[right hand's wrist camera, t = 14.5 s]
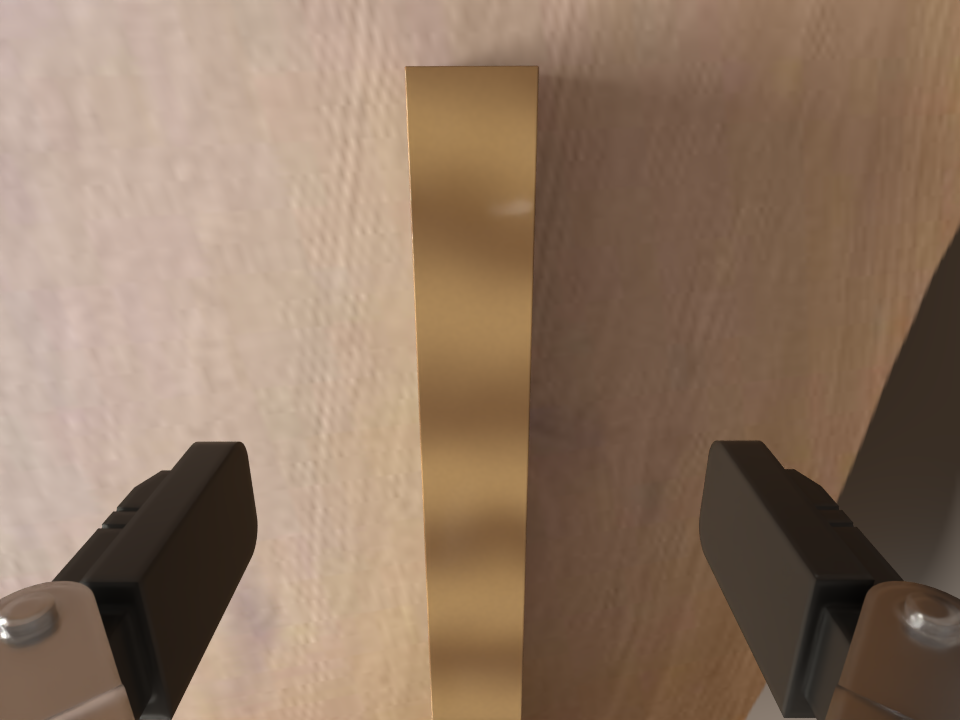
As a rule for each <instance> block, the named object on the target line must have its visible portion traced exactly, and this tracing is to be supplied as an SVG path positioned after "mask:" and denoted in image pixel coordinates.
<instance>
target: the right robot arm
mask: <svg viewBox="0 0 960 720" xmlns="http://www.w3.org/2000/svg"><path fill="white" fill-rule="evenodd" d="M257 526H258V525H257V514H256V507H255V501H254V494H253V487H252V481H251V474H250V467H249V460H248V454H247V450H246V448H245V446H244V444H243V443H242V442H195V443H194V444H193V445H191V447H190V448H189V449H188V450H187V452H186V453H185V454H184V455H183V456H182V458H181V459H180V460H179V461H178V462H177V464H176V465H175V466H174V467H173V469H172V470H171V471H160V472H159V473H157V474H155V475H154V476H152V477H151V478H149V479H147V480H146V481H144V482H143V483H141V484H139V485H138V486H136V487H135V488H134V489H133V490H132V491H131V492H130V493H129V494H128V495H127V497H126V498H125V499H124V500H123V501H122V502H121V503H120V505H119V506H118V507H117V511H116V512H113V513H112V514H111V515H110V516H109V517H108V518H107V519H106V520H105V522H104V523H103V524H102V529H98V530H97V531H96V532H95V533H94V534H93V535H92V536H91V537H90V539H89V540H88V541H87V542H86V543H85V544H84V545H83V547H82V548H81V549H80V550H79V551H78V552H77V553H76V555H75V556H74V557H73V558H72V559H71V560H70V561H69V562H68V564H67V565H66V566H65V567H64V568H63V569H62V570H61V572H60V573H59V574H58V575H57V576H56V577H55V578H54V580H53V581H52V582H46V583H42V584H37V585H34V586H30V587H27V588H24V589H22V590H19V591H17V592H14V593H12V594H10V595H8V596H6V597H4V598H2V599H0V720H171V719H172V717H173V715H174V713H175V711H176V709H177V707H178V705H179V703H180V701H181V699H182V697H183V695H184V693H185V691H186V689H187V687H188V685H189V683H190V681H191V679H192V677H193V675H194V673H195V671H196V669H197V667H198V665H199V663H200V661H201V659H202V657H203V655H204V653H205V651H206V649H207V647H208V645H209V643H210V641H211V638H212V636H213V634H214V632H215V630H216V628H217V626H218V624H219V622H220V620H221V618H222V616H223V614H224V612H225V610H226V608H227V606H228V604H229V602H230V600H231V598H232V596H233V594H234V592H235V590H236V588H237V586H238V584H239V582H240V580H241V578H242V576H243V574H244V572H245V570H246V568H247V566H248V564H249V562H250V560H251V557H252V555H253V552H254V549H255V545H256V540H257ZM699 532H700V540H701V545H702V549H703V552H704V555H705V557H706V559H707V561H708V563H709V565H710V567H711V569H712V571H713V573H714V576H715V578H716V580H717V582H718V584H719V586H720V588H721V590H722V592H723V594H724V596H725V598H726V600H727V602H728V604H729V606H730V608H731V610H732V612H733V614H734V616H735V619H736V621H737V623H738V625H739V627H740V629H741V631H742V633H743V635H744V637H745V639H746V641H747V643H748V645H749V647H750V649H751V651H752V653H753V655H754V657H755V660H756V662H757V664H758V666H759V668H760V670H761V672H762V674H763V676H764V678H765V680H766V682H767V684H768V686H769V688H770V690H771V692H772V694H773V696H774V698H775V700H776V703H777V705H778V707H779V709H780V711H781V713H782V715H783V717H784V718H816V719H817V720H960V599H958V598H956V597H954V596H952V595H950V594H948V593H946V592H943V591H941V590H938V589H936V588H933V587H930V586H926V585H922V584H918V583H913V582H906V581H904V580H903V579H902V578H901V577H900V576H899V575H898V574H897V572H896V571H895V570H894V569H893V568H892V567H891V566H890V564H889V563H888V562H887V561H886V560H885V559H884V558H883V556H882V555H881V554H880V553H879V552H878V551H877V550H876V548H875V547H874V546H873V545H872V544H871V543H870V542H869V540H868V539H867V538H866V537H865V536H864V535H863V534H862V532H861V531H860V530H859V529H858V528H857V527H853V522H852V521H851V520H850V519H849V517H848V516H847V515H846V514H845V513H844V512H843V511H842V510H839V506H838V505H837V504H836V503H835V501H834V500H833V499H832V498H831V497H830V496H829V495H828V493H827V492H826V491H825V490H824V489H823V488H822V486H820V485H818V484H817V483H815V482H814V481H812V480H810V479H809V478H807V477H806V476H804V475H802V474H801V473H799V472H798V471H796V470H794V469H784V468H783V466H782V465H781V464H780V463H779V461H778V460H777V459H776V458H775V457H774V455H773V454H772V453H771V452H770V450H769V449H768V448H767V447H766V445H765V444H764V443H763V442H761V441H715V442H713V444H712V445H711V448H710V451H709V456H708V463H707V470H706V477H705V483H704V490H703V497H702V504H701V511H700V518H699Z"/></svg>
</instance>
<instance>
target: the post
mask: <svg viewBox="0 0 960 720" xmlns="http://www.w3.org/2000/svg"><path fill="white" fill-rule="evenodd" d="M538 80H539V67H538V66H406V67H405V86H406V110H407V134H408V158H409V182H410V205H411V229H412V253H413V277H414V301H415V324H416V348H417V372H418V396H419V420H420V443H421V467H422V491H423V515H424V539H425V562H426V586H427V610H428V634H429V658H430V681H431V705H432V720H521V717H522V680H523V642H524V605H525V567H526V530H527V492H528V455H529V418H530V380H531V343H532V305H533V268H534V230H535V193H536V155H537V118H538Z"/></svg>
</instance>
